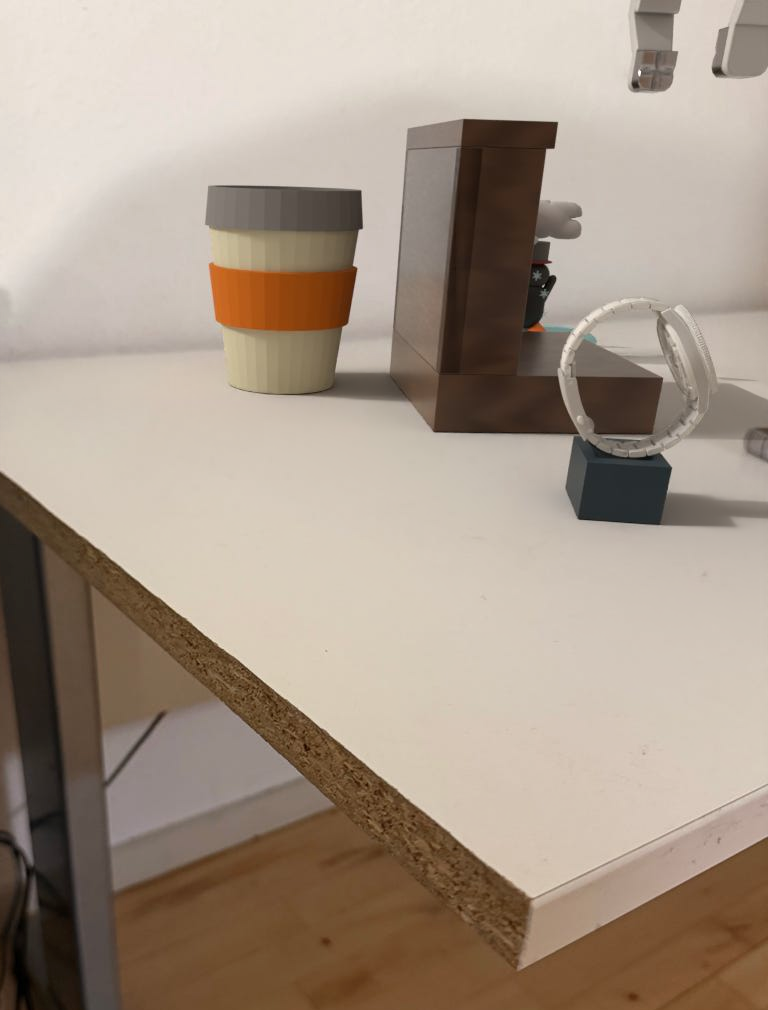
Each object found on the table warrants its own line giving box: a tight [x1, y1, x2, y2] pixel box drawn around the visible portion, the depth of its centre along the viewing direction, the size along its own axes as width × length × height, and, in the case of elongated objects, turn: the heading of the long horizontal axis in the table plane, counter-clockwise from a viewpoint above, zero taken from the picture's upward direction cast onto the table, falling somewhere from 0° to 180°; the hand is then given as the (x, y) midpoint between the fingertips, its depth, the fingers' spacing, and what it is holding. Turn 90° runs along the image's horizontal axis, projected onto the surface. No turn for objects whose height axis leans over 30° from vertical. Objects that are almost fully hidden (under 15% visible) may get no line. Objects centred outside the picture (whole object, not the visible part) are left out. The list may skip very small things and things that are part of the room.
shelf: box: [389, 118, 664, 435], centre depth 72 cm, size 16×20×20 cm
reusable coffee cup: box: [204, 184, 364, 395], centre depth 78 cm, size 12×13×15 cm
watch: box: [558, 296, 718, 525], centre depth 51 cm, size 6×8×11 cm
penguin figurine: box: [523, 199, 598, 345], centre depth 94 cm, size 20×11×15 cm, turn 78°
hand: (688, 85), depth 44 cm, fingers open, 8 cm apart
